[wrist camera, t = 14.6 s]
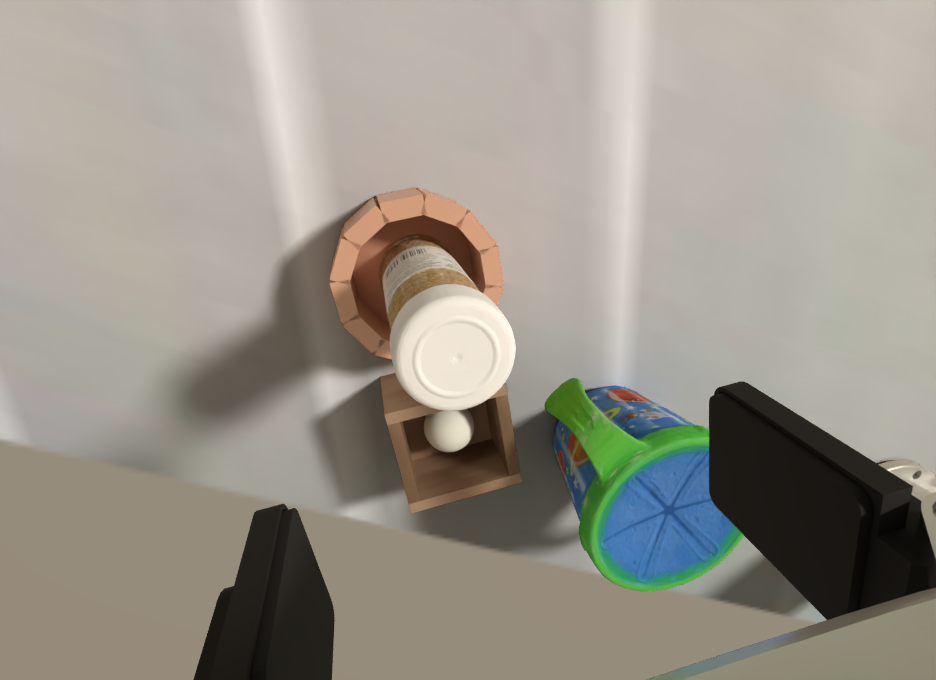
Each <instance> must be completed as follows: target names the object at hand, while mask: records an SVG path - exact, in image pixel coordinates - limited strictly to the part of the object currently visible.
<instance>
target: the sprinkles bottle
mask: <svg viewBox="0 0 936 680" xmlns="http://www.w3.org/2000/svg"><path fill="white" fill-rule="evenodd" d="M379 281H380V283H381V286H382V289H383V291H384V296H385V305H386V311H387V317H388V321H389V325H390V328H391V334H390V352H391V357H392V362H393V366H394V370H395V373H396V376H397V378H398V380H399V382H400V384H401V386H402V387H403V388H404V390H405V391H406V392H407V393H408V394H409V395H410V396H411V397H412V398H413V399H415V400H416V401H417V402H420V403H421V404H423V405H425V406H427V407H430V408H433V409H437V410H443V411H458V410H464V409H468V408H471V407H474V406H476V405H478V404H481V403H483V402H484V401H486V400H487V399H489V398H490V397H491V396H493V395H494V394H495V393H496V392H497V391H498V390H499V389H500V388H501V387H502V385H503V384H504V383H505V381H506V380H507V378H508V376H509V374H510V372H511V370H512V367H513V364H514V359H515V351H516V346H515V339H514V335H513V331H512V329H511V326H510V324H509V322H508V321H507V319H506V318H505V316H504V315H503V314H502V312H501V311H500V310H499V308H498V307H497V306H496V305H495V304H494V302H493V301H492V300H490V299H489V298H488V297H487V296H486V295H485V294H483V293H481V292H480V291H479V290H478V288H477V287H476V285H475V284H474V283H473V281H472V280H471V279H470V278H469V277H468V275H467V274H466V273H465V272H464V270H463V269H462V268H461V266H460V265H459V264H458V263H457V261H456V260H455V259H454V258H453V257H452V255H451V253H450V252H449V250H448V249H447V248H446V247H445V246H444V244H443V243H441V242H440V241H438V240H436V239H434V238H432V237H430V236H426V235H418V234H416V235H409V236H407V237H403V238H401V239H399V240H397V241H395V242H394V243H393V244H391V246H390V247H389V248H388V249H387V250H386V251H385V253H384V255H383V257H382V260H381V262H380V265H379Z"/></svg>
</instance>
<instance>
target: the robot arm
mask: <svg viewBox="0 0 936 680" xmlns="http://www.w3.org/2000/svg"><path fill="white" fill-rule="evenodd" d="M709 494H710V497H711V499H712V501H713V503H714V505H715V506H716V507H717V508H718V509H719V510H720V511H721V512H722V513H723V514H724V515H725V516H726V517H727V518H728V519H729V520H730V521H731V522H732V523H733V524H734V526H735V527H736V528H737V529H738V530H739V531H740V532H741V533H742V534H743V535H744V536H745V537H746V538H747V539H748V540H749V541H750V542H751V543H752V544H753V545H754V546H755V547H756V548H757V549H758V550H759V551H760V552H761V553H762V554H763V555H764V556H765V557H766V558H767V559H768V560H769V561H770V562H771V563H772V564H773V565H774V566H775V567H776V568H777V569H778V570H779V571H780V572H781V573H782V574H783V575H784V576H785V577H786V578H787V580H788V581H789V582H790V583H791V584H792V585H793V586H794V587H795V588H796V589H797V590H798V591H799V592H800V593H801V594H802V595H803V596H804V597H805V598H806V599H807V600H808V601H809V602H810V603H811V604H812V605H813V606H814V607H815V608H816V609H817V610H818V611H819V612H820V613H821V614H822V615H823V616H824V617H825V618H826V619H827V620H826V621H823V622H820V623H817V624H814V625H811V626H808V627H805V628H802V629H799V630H796V631H793V632H790V633H787V634H783V635H780V636H778V637H774V638H771V639H768V640H765V641H762V642H759V643H756V644H753V645H750V646H747V647H744V648H740V649H737V650H734V651H731V652H728V653H725V654H723V655H719V656H716V657H713V658H710V659H707V660H705V661H701V662H698V663H695V664H692V665H689V666H686V667H683V668H680V669H677V670H674V671H671V672H668V673H665V674H662V675H659V676H656V677H653V678H650V679H647V680H936V476H935V475H934V474H933V473H932V472H931V471H930V470H928V469H926V468H925V467H923V466H921V465H920V464H917V463H914V462H912V461H905V460H896V461H888V462H885V463H881V464H877V463H875V462H873V461H872V460H870V459H869V458H867V457H865V456H864V455H862V454H860V453H859V452H857V451H856V450H854V449H852V448H851V447H849V446H848V445H846V444H844V443H843V442H841V441H840V440H838V439H836V438H835V437H833V436H832V435H830V434H828V433H827V432H825V431H823V430H822V429H820V428H819V427H817V426H815V425H814V424H812V423H811V422H809V421H807V420H806V419H804V418H803V417H801V416H799V415H798V414H796V413H795V412H793V411H791V410H790V409H788V408H787V407H785V406H783V405H782V404H780V403H778V402H777V401H775V400H774V399H772V398H770V397H769V396H767V395H766V394H764V393H762V392H761V391H759V390H758V389H756V388H754V387H753V386H751V385H750V384H748V383H746V382H737V383H733V384H730V385H726V386H722V387H719V388H717V389H716V391H715V393H714V396H712V397H711V398H710V401H709ZM333 639H334V609H333V604H332V601H331V598H330V595H329V593H328V590H327V587H326V585H325V582H324V579H323V577H322V574H321V572H320V569H319V566H318V563H317V561H316V558H315V555H314V553H313V550H312V548H311V545H310V542H309V540H308V537H307V534H306V532H305V529H304V526H303V524H302V521H301V518H300V516H299V513H298V511H297V510H296V509H295V508H293V509H289V510H288V508H287V507H286V505H285V504H281V505H277V506H273V507H270V508H266V509H262V510H258V511H256V512H255V513H254V516H253V519H252V522H251V527H250V530H249V533H248V537H247V541H246V545H245V548H244V552H243V555H242V559H241V563H240V567H239V570H238V574H237V577H236V581H235V585H234V586H232V587H229V588H225V589H224V590H223V591H222V592H221V593H220V595H219V598H218V600H217V603H216V607H215V610H214V613H213V617H212V620H211V623H210V627H209V630H208V633H207V637H206V640H205V643H204V647H203V650H202V653H201V657H200V660H199V663H198V667H197V670H196V673H195V677H194V680H332V662H333Z"/></svg>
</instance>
